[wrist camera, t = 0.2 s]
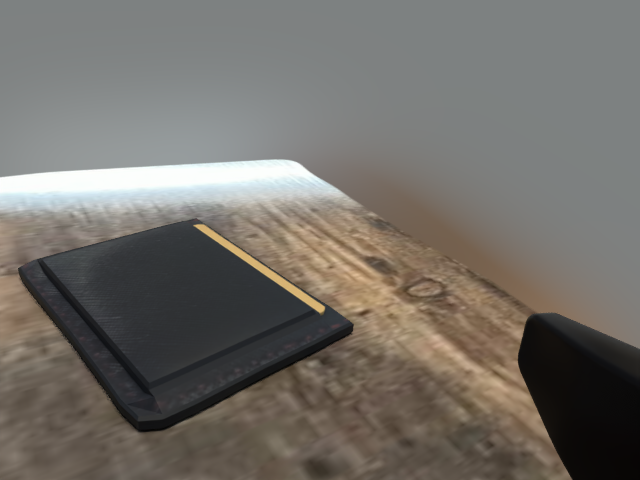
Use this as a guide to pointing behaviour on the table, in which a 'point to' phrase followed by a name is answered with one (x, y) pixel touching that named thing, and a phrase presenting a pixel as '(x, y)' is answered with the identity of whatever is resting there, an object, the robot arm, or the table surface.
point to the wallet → (177, 318)
